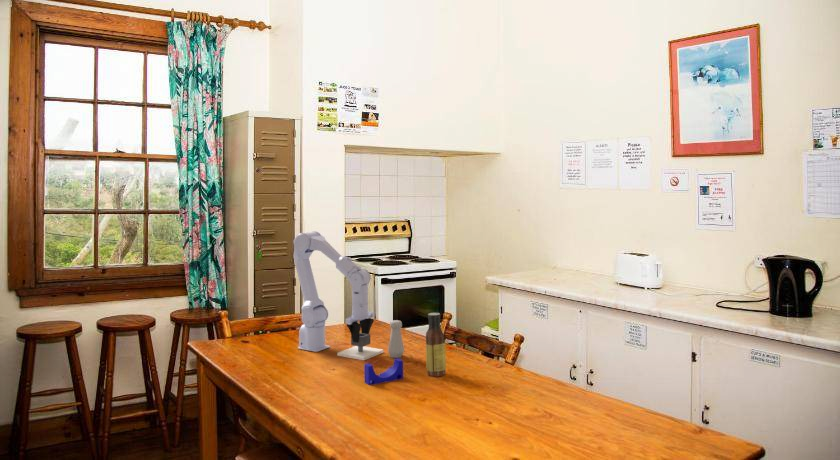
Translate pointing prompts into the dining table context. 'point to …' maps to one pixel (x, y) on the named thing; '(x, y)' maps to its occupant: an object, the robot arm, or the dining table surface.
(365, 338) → the square frame block
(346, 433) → the dining table surface
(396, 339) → the salt shaker
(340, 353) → the peg base
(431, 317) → the sauce bottle
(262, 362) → the dining table surface
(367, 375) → the blue cradle stand
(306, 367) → the dining table surface
